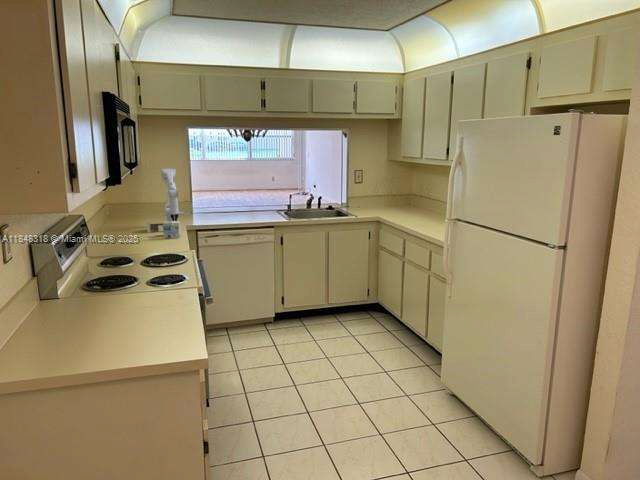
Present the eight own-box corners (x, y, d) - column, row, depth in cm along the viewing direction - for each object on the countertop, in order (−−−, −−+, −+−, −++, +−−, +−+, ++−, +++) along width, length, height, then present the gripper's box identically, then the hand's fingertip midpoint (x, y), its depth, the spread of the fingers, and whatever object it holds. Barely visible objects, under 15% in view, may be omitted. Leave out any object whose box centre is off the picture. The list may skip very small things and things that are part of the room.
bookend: (147, 230, 342) (146, 219, 340) (150, 229, 343) (149, 218, 341) (147, 232, 333) (146, 221, 331) (150, 232, 334) (149, 221, 332)
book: (158, 229, 344) (158, 225, 343) (165, 229, 345) (165, 225, 344) (158, 231, 336) (158, 227, 335) (165, 231, 338) (165, 227, 337)
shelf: (147, 231, 344) (147, 224, 343) (173, 230, 350) (172, 222, 349) (147, 234, 333) (146, 227, 332) (173, 233, 339) (173, 225, 337)
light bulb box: (163, 238, 322) (162, 223, 320) (164, 236, 328) (163, 221, 326) (180, 238, 324) (179, 222, 322) (180, 236, 331) (180, 220, 328)
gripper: (163, 207, 334) (164, 226, 337) (184, 206, 338) (185, 225, 341) (163, 206, 340) (164, 224, 343) (184, 205, 345) (185, 223, 348)
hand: (174, 225), depth 343 cm, fingers closed
